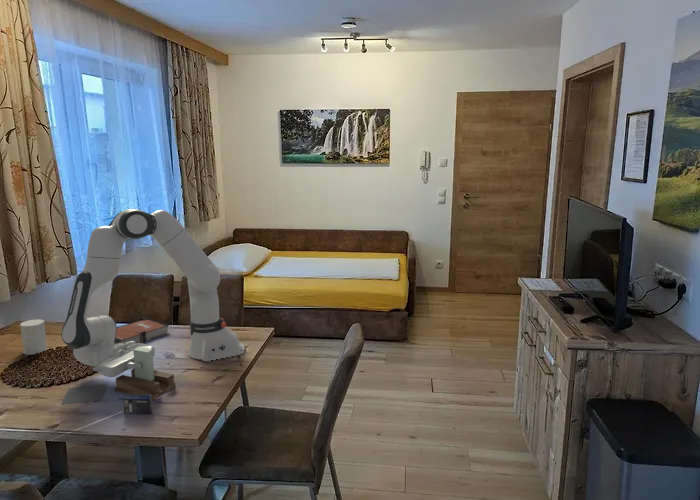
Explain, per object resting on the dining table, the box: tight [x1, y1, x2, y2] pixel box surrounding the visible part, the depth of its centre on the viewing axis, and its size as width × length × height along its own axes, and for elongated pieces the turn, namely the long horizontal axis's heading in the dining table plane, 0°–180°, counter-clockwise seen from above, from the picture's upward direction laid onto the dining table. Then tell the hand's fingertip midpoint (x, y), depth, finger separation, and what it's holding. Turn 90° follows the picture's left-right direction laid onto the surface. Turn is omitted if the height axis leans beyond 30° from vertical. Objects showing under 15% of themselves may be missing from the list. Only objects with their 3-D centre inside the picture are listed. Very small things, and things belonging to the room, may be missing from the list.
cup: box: [20, 318, 48, 356], centre depth 198 cm, size 8×8×12 cm
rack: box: [114, 369, 176, 401], centre depth 168 cm, size 11×16×5 cm
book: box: [114, 316, 170, 344], centre depth 214 cm, size 26×18×5 cm
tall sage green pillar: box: [133, 347, 155, 381], centre depth 166 cm, size 2×6×11 cm, turn 70°
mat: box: [60, 383, 108, 406], centre depth 163 cm, size 12×12×1 cm
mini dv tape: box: [122, 393, 153, 415], centre depth 152 cm, size 8×2×6 cm, turn 90°
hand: (145, 363), depth 166 cm, fingers closed on tall sage green pillar, 2 cm apart
